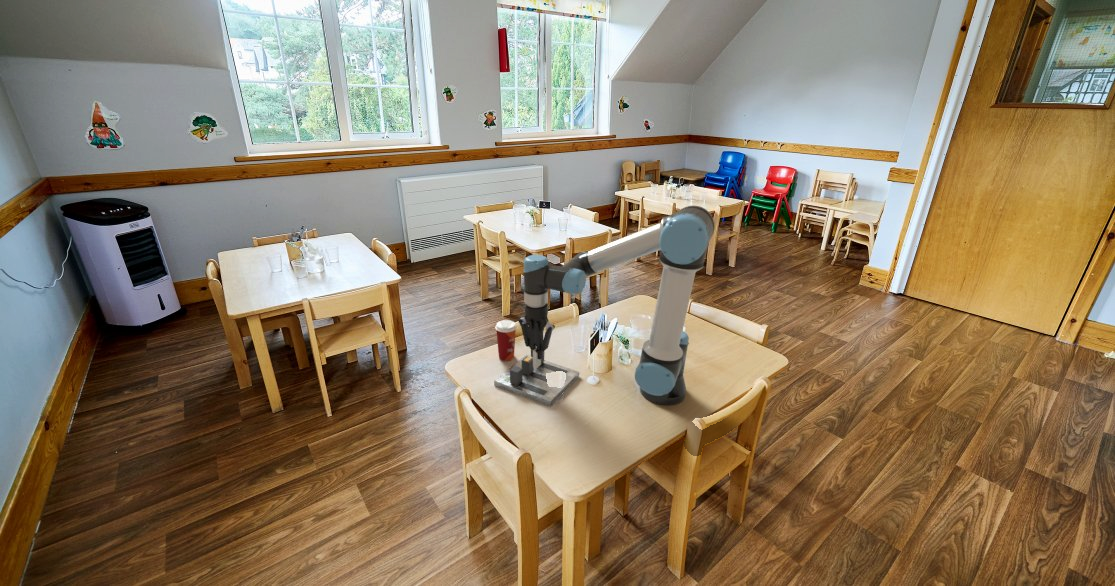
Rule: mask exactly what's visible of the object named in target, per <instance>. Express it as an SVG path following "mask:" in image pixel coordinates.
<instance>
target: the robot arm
mask: <svg viewBox="0 0 1115 586" xmlns="http://www.w3.org/2000/svg"><path fill="white" fill-rule="evenodd" d="M715 223H716V222H715V219H714V217H713V215H712V213H710V211H708V209H706V208H704V207H702V206H699V205H687V206H685V207H683V208H681V209H679V210H677V211H676V212H673V213H671V214H669V215H667V216H664V217H662V219H661V220H660V222H659V223H657V224H654V225H651V226H649V227H646V228H643V229H641V230H639V231H635V232H634V233H631V234H628V235H626V236H624V237H621V238H618V239H616V240H614V241H613V240H612V241H611V242H609V243H606V244H604V245H601V246H598V247H596V248H593V249H591V250H589V251H582V252H579V253H577V254H576V255H575V256H574V257H572V259H570V260H569V261H568V262H566V263H565V264H563V265H562V266H559V265H553V264H549V261H548V260H549V259H548V257H546V256H544V255H542V254H531V255H528V256H527V257H525V258H524V260H523V271H522V272H523V284H524V285H523V287H524V288H523V290H524V291H523V299H524V300H523V301H524V305H523V307H524V316H522V317H520V319H518V323H519V325H520V327H521V332H522V336H523V341H524V344H525V347H528V348H529V349H530V356H531V357H533V367H534V368H538V367H539V366H540V365H541V358H542V357H543V351H544V352H545V351H546V350H547V349H548V348H549V345H550V341H551V336H552V334H553V331H554V329H555V328H556V325H554V324H551V323H550V322H549V318H548V313H549V305H548V302H549V301H548V299H549V297H548V296H549V295H548V291H549V290H552V291H557V292H561V293H566V294H575V295H580V294H581V293H582V292H583V291H584V289H585V287H586V282H587V277H590V276H593V275H595V274H598V273H600V272H603V271H605V270H608V269H612V268H614V267H617V266H619V265H623V264H625V263H628V262H630V261H635V260H636V259H640V258H641V257H645V256H647V255H650V254H653V253H655V252H658V251H660V253H659V258H658V261H659V263H660V264H662V266H663V267H662V272H661V276H660V282H659V288H658V293H657V298H656V304H655V309H654V314H653V318H652V324H651V330H650V334H649V339H647V340H645V341H644V342H643V344H642V349H641V352H640V353H641V354H640V359H639V363H638V365H637V366H636V368H635V370H634V379H635V383H636V384H637V386H639V392H640V393H641V395H642V397H644V398H645V399H646V400H648V401H650V402H652V403H654V404H658V405H661V406H662V405H663V406H673V405H677V404H680V403H682V402H684V400H685V399H686V395H687V394H686V393H687V388H686V382H685V377H684V376H685V375H684V372H685V364H686V361H687V353H688V347H689V344H690V343H689V339H690V338H689V335H688V333H687V332H685V331H684V327H685V326H684V325H685V322H686V316H687V312H688V308H689V303H690V300H691V299H690V298H691V296H692V295H691V294H692V290H693V286H694V280H695V276H696V273H697V272H698V271H700V270H702V269H703V268H704V264H705V259H706V255H707V251H708V247H709V243H710V240H711V239H712V238H713V235H714V233H715V228H716V227H715ZM544 330H545V332H544Z"/></svg>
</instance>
